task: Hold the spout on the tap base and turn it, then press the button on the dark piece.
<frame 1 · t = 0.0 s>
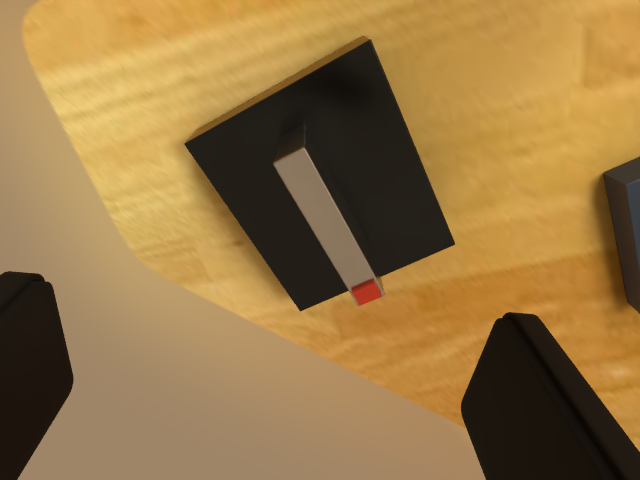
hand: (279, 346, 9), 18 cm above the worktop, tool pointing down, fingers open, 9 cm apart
tap base: (327, 179, 27), on the worktop
spout: (331, 216, 22), point 5 cm above the worktop, hinge at 0.0°
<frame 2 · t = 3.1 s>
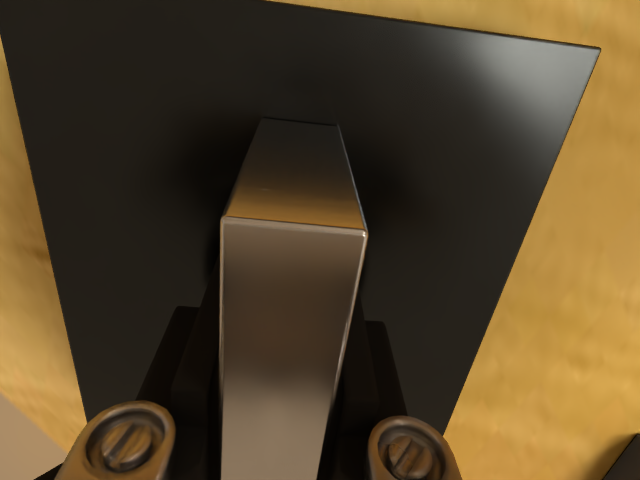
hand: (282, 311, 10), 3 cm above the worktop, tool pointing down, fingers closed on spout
tap base: (287, 242, 13), on the worktop
spout: (277, 374, 8), point 5 cm above the worktop, hinge at 0.0°, touching gripper
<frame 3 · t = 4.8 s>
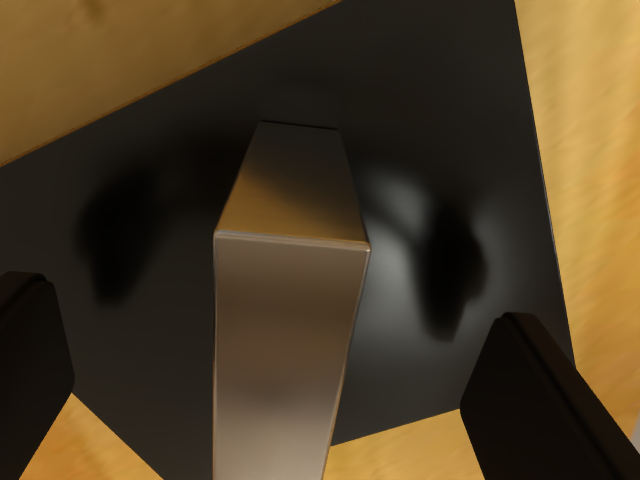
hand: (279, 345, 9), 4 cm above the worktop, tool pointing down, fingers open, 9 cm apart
tap base: (286, 246, 13), on the worktop
spout: (275, 387, 8), point 5 cm above the worktop, hinge at 59.9°
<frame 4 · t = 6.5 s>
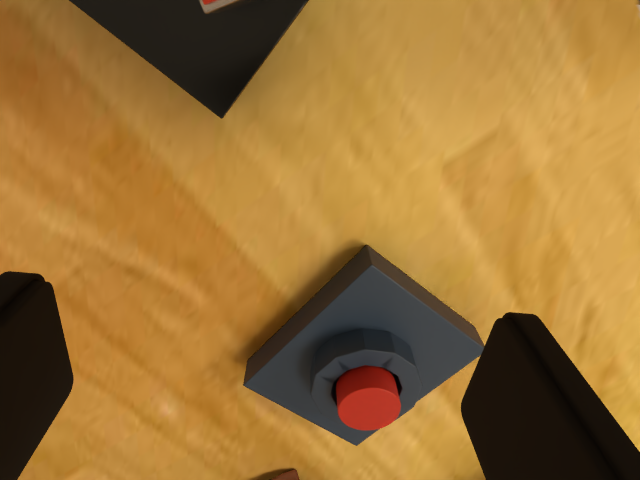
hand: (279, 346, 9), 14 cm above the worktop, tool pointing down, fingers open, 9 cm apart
button: (367, 397, 24), point 4 cm above the worktop, slide at 0.1 cm
dark piece: (359, 343, 28), on the worktop
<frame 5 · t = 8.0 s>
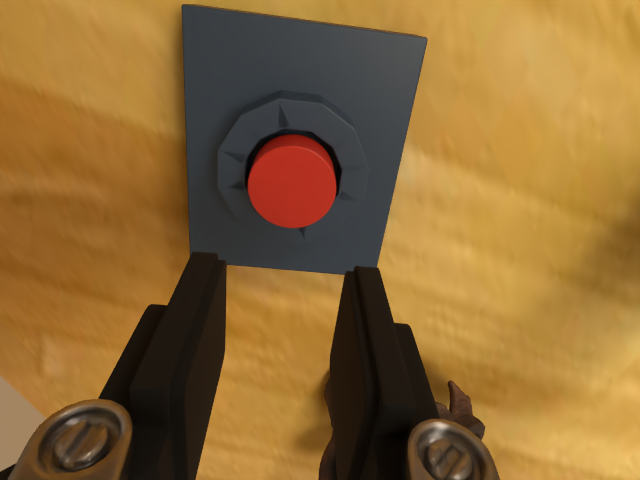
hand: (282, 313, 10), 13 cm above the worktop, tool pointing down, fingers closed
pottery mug: (379, 395, 31), on the worktop
button: (292, 181, 18), point 4 cm above the worktop, slide at 0.1 cm
dark piece: (295, 150, 22), on the worktop
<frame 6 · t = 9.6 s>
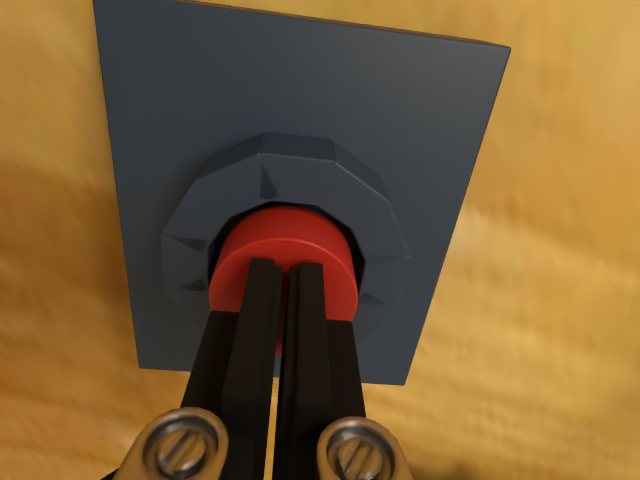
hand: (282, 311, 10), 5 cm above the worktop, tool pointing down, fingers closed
button: (285, 282, 11), point 4 cm above the worktop, slide at 0.0 cm, touching gripper
dark piece: (291, 209, 15), on the worktop
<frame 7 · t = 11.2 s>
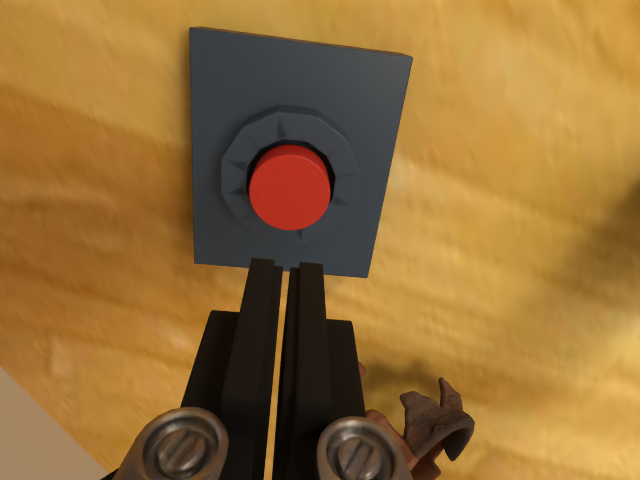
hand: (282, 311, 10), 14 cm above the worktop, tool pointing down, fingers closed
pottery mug: (374, 394, 32), on the worktop
button: (290, 187, 19), point 4 cm above the worktop, slide at 0.1 cm
dark piece: (292, 159, 23), on the worktop
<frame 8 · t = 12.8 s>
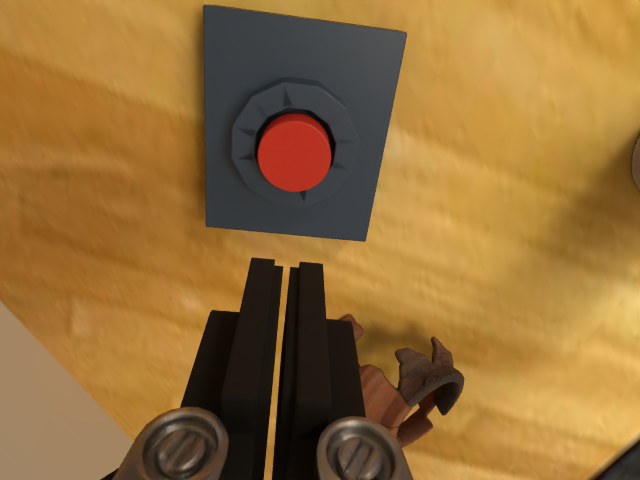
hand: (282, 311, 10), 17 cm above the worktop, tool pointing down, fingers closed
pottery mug: (372, 356, 35), on the worktop
button: (294, 152, 21), point 4 cm above the worktop, slide at 0.1 cm
dark piece: (296, 130, 25), on the worktop
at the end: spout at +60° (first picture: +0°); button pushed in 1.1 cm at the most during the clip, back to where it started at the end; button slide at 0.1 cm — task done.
